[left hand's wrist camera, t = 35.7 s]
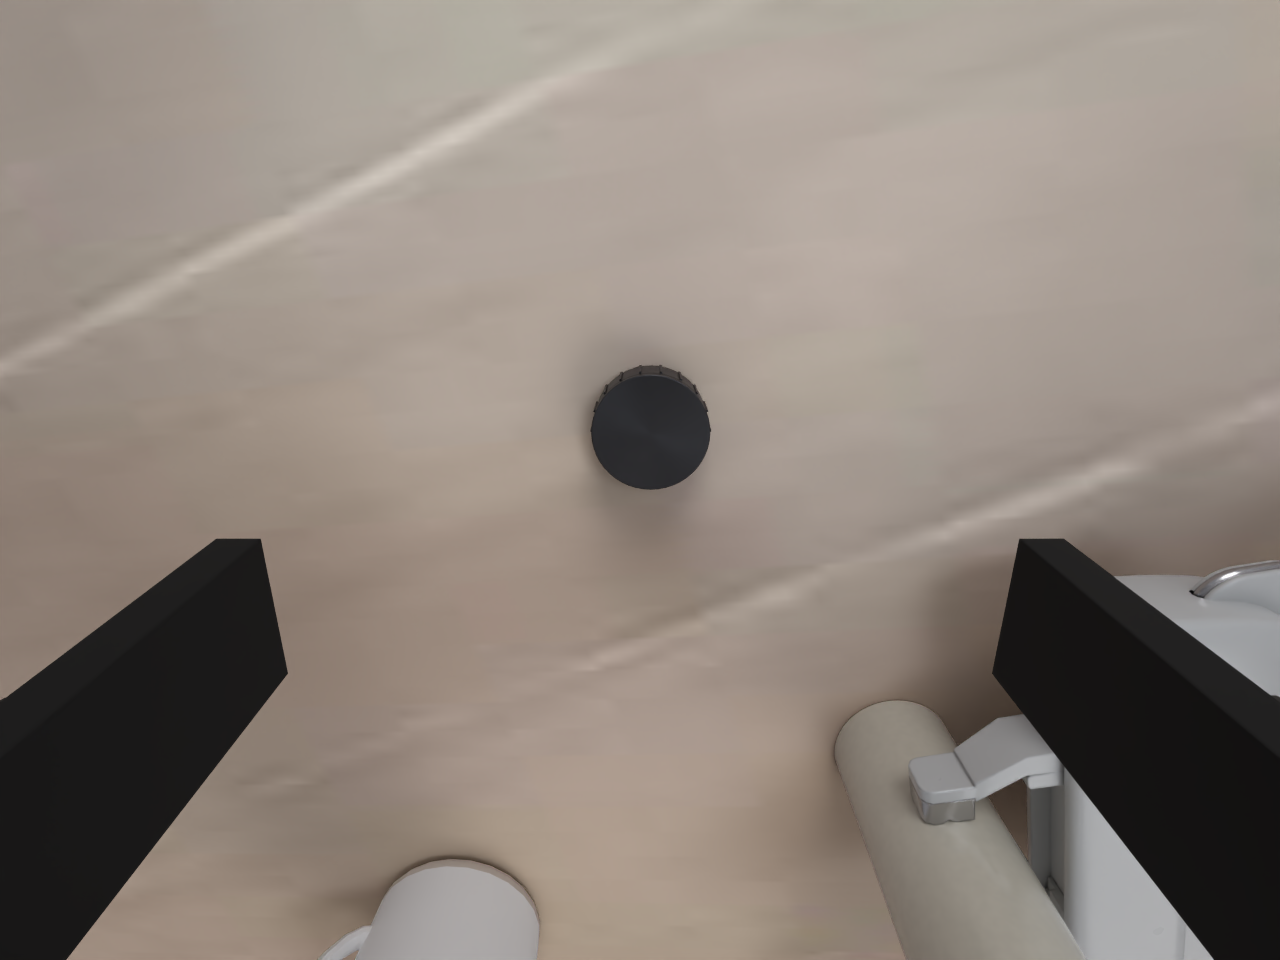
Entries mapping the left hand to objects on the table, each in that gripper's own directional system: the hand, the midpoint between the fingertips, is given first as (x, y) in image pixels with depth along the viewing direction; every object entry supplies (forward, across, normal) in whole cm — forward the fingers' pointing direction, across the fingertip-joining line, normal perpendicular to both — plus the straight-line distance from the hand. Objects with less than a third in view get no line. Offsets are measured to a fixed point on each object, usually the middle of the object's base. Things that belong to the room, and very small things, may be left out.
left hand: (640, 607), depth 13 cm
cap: (+14, 0, -1) cm, 14 cm away
